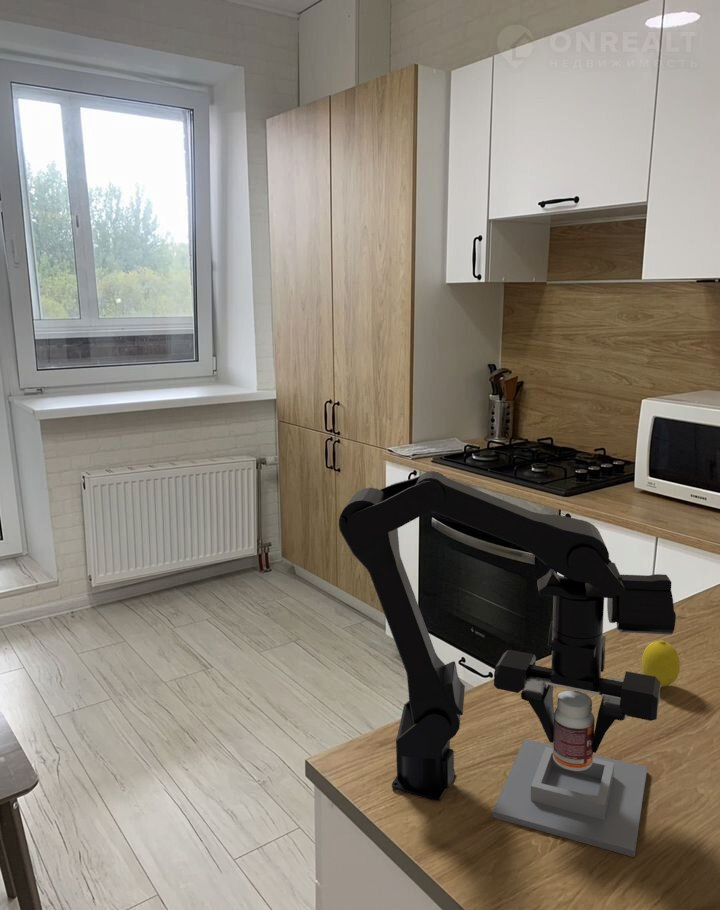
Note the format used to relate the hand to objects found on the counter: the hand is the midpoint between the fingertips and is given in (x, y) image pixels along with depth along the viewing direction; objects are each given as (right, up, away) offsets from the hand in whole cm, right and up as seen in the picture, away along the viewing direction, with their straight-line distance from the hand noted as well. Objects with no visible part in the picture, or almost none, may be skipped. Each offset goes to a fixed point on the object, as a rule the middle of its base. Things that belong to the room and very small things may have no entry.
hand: (573, 745), depth 89 cm
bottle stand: (0, -7, +1) cm, 7 cm away
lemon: (+21, -1, +25) cm, 33 cm away
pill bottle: (0, -2, 0) cm, 2 cm away
